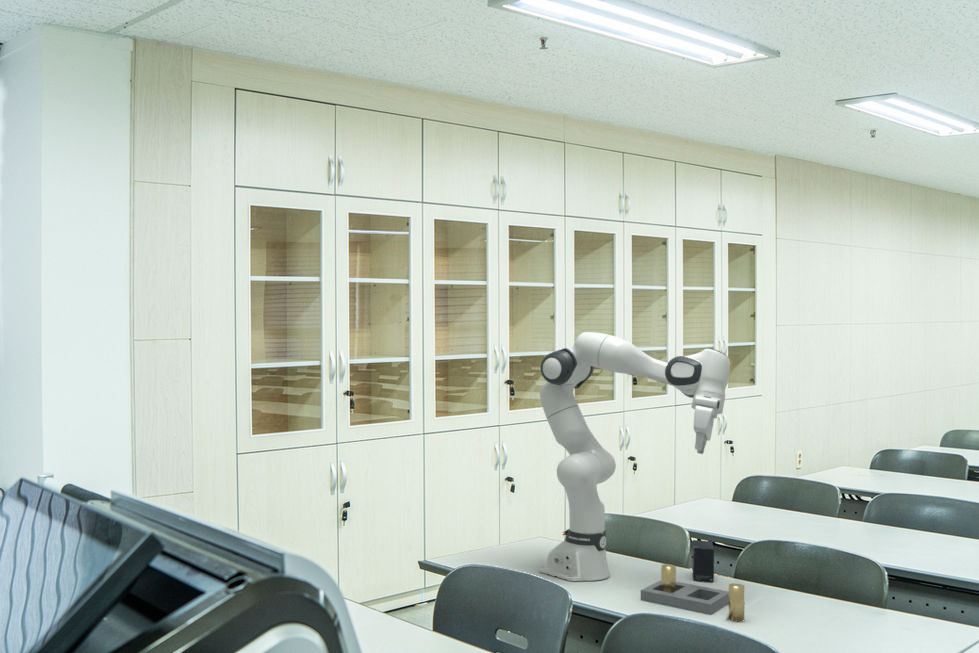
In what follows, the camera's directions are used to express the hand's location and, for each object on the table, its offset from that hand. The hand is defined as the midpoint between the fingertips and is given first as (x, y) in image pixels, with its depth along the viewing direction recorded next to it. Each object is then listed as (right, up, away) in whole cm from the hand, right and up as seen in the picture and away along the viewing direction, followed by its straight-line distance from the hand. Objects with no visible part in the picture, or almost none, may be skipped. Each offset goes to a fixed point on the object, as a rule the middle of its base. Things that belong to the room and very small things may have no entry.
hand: (698, 451), depth 246 cm
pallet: (-4, -42, -3) cm, 43 cm away
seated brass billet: (-9, -42, 0) cm, 43 cm away
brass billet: (+6, -42, -17) cm, 46 cm away
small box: (+7, -43, +23) cm, 49 cm away
